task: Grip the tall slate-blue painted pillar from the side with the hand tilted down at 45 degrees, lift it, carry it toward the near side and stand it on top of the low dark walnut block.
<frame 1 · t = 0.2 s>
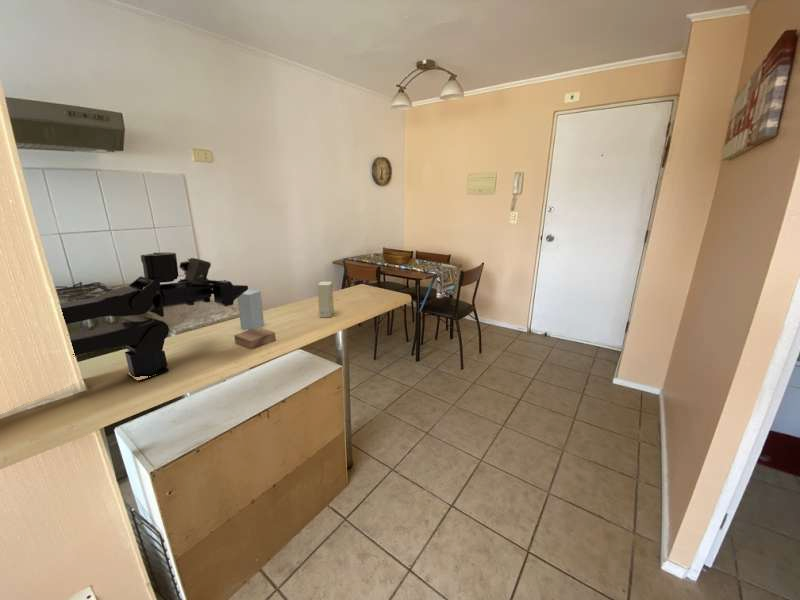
hand: (238, 285, 96), 17 cm above the breakfast bar, tool horizontal, fingers open, 9 cm apart
walnut block: (255, 343, 99), on the breakfast bar
skincare box: (326, 315, 123), on the breakfast bar
pillar: (252, 327, 111), on the breakfast bar
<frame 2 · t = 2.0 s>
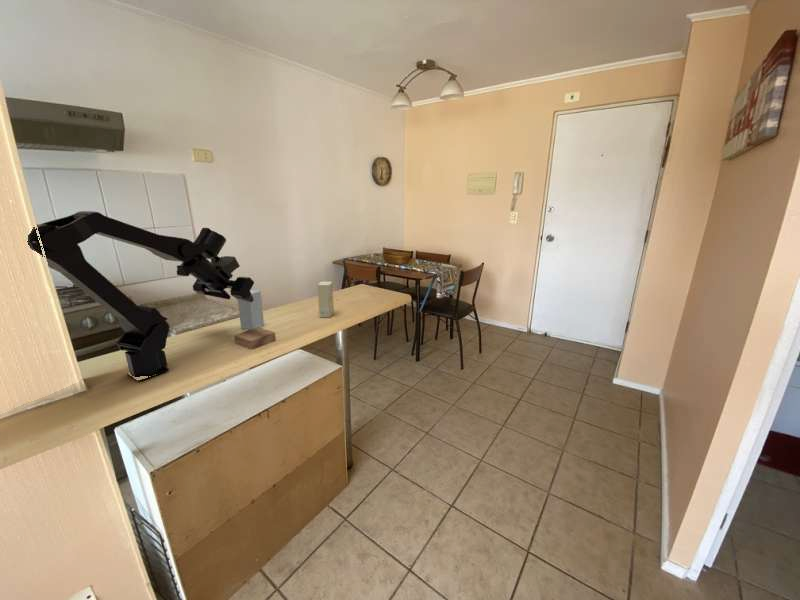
hand: (241, 299, 105), 10 cm above the breakfast bar, tool tilted 45°, fingers open, 9 cm apart
nothing on the breakfast bar moved.
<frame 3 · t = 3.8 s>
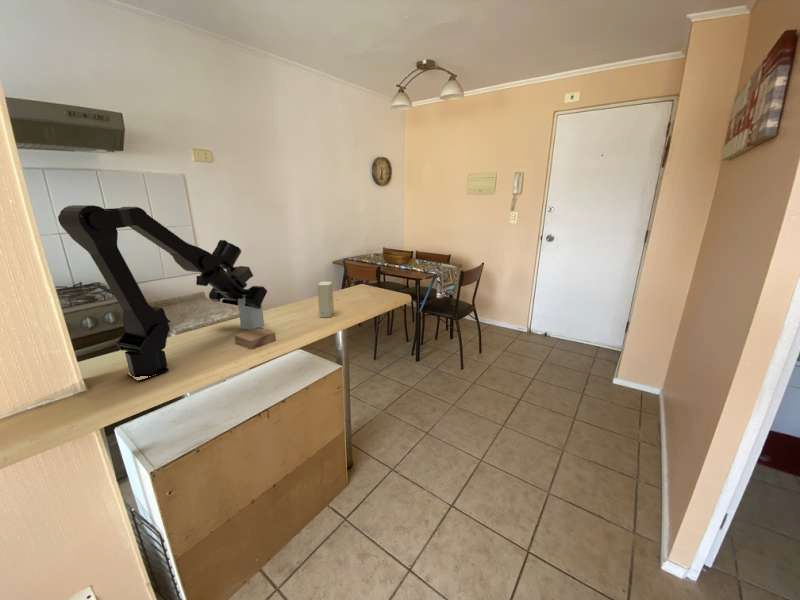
hand: (253, 306, 110), 7 cm above the breakfast bar, tool tilted 45°, fingers closed on pillar, 5 cm apart
pillar: (252, 327, 111), on the breakfast bar, touching gripper
everything else where it was.
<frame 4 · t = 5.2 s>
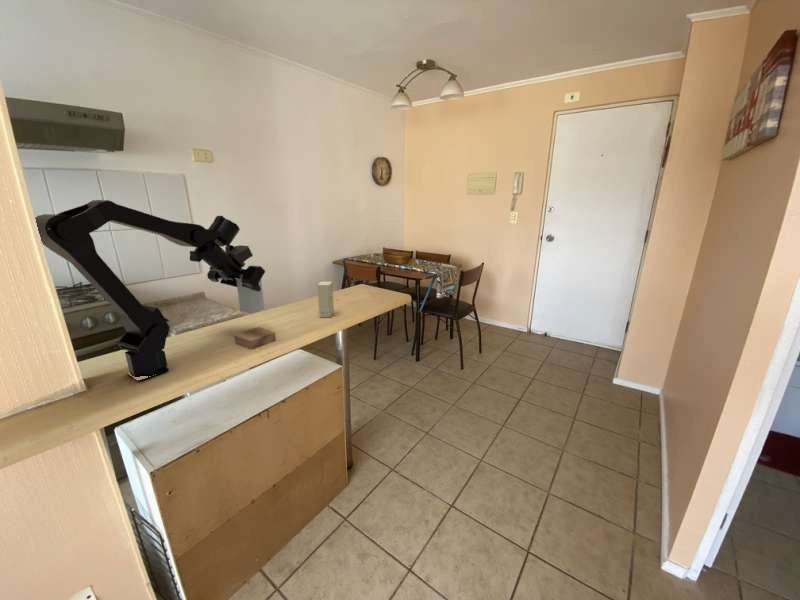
hand: (253, 289, 105), 13 cm above the breakfast bar, tool tilted 45°, fingers closed on pillar, 5 cm apart
pillar: (252, 310, 106), point 7 cm above the breakfast bar, touching gripper
everything else where it was.
when the fingers open (10 cm above the breakfast bar, at t = 6.9 s): pillar drops 1 cm, resting on walnut block.
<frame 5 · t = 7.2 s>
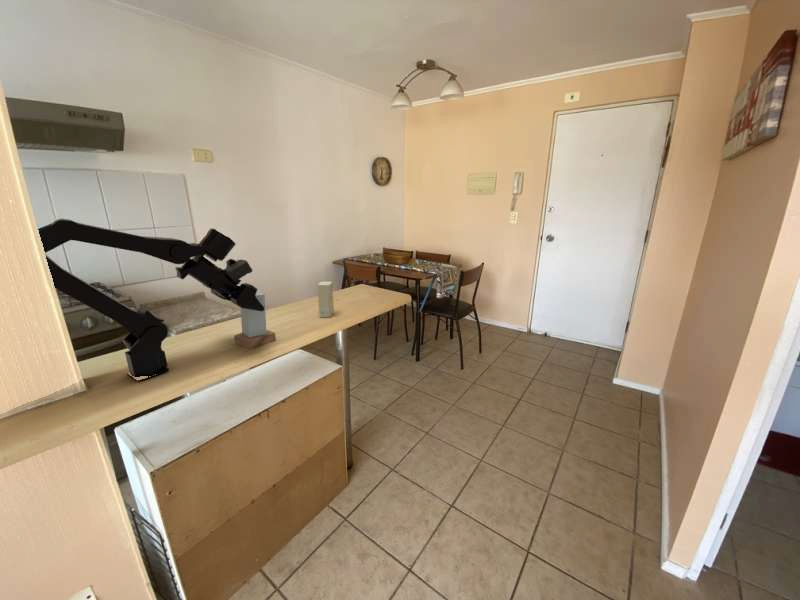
hand: (256, 306, 97), 11 cm above the breakfast bar, tool tilted 45°, fingers open, 9 cm apart
walnut block: (255, 343, 99), on the breakfast bar, touching pillar
pillar: (254, 333, 98), point 3 cm above the breakfast bar, touching walnut block
everything else where it was.
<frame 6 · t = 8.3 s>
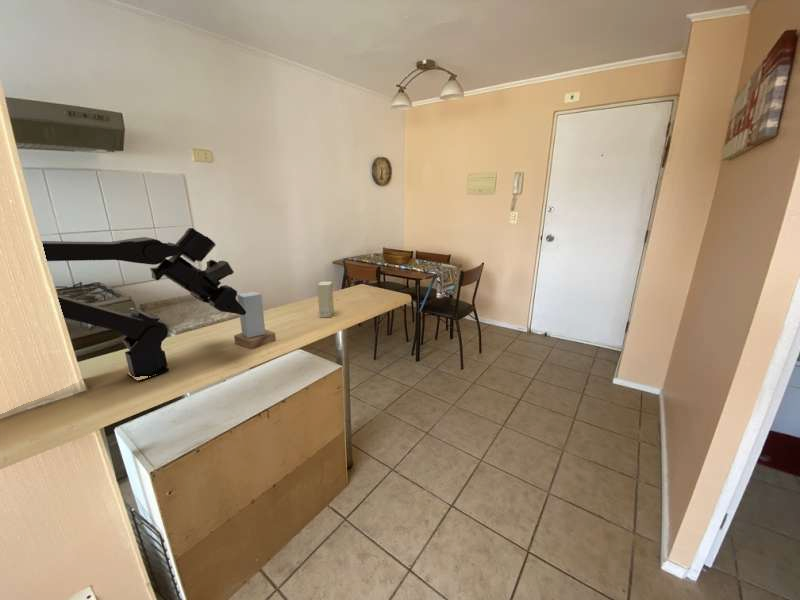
hand: (238, 310, 93), 11 cm above the breakfast bar, tool tilted 45°, fingers open, 9 cm apart
nothing on the breakfast bar moved.
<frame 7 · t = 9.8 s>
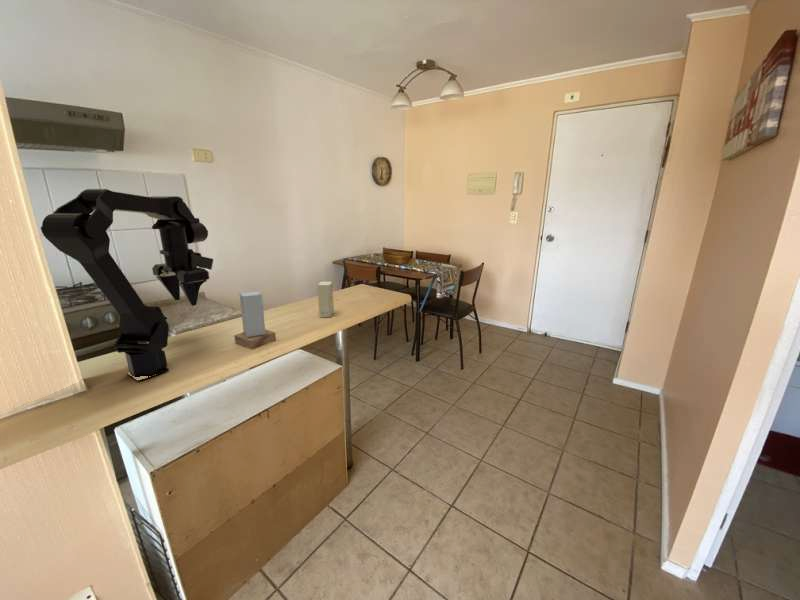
hand: (185, 302, 92), 13 cm above the breakfast bar, tool pointing down, fingers open, 9 cm apart
walnut block: (256, 343, 99), on the breakfast bar
pillar: (254, 333, 98), point 3 cm above the breakfast bar
everything else where it was.
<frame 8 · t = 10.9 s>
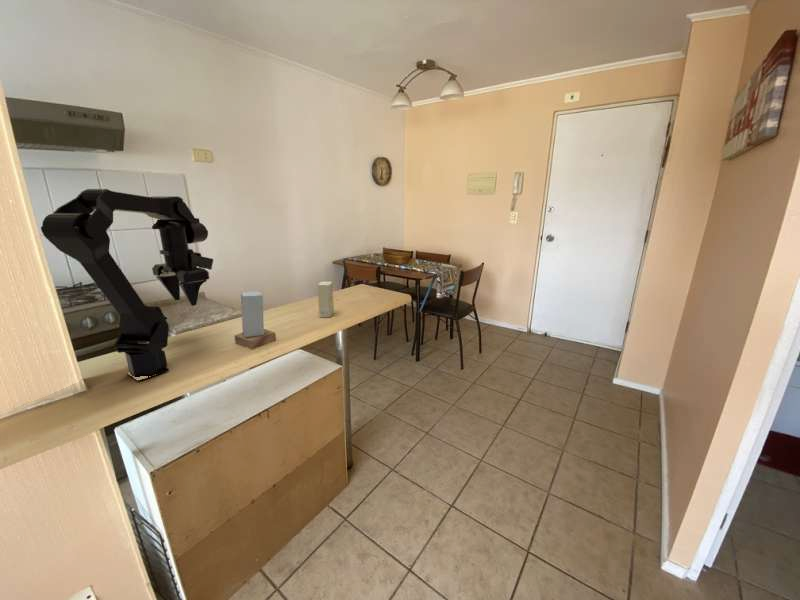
hand: (185, 302, 92), 13 cm above the breakfast bar, tool pointing down, fingers open, 9 cm apart
nothing on the breakfast bar moved.
at the end: pillar inside the target area on the walnut block (0.4 cm from its centre), point 3.2 cm above the walnut block's base; pillar tilted 4°; the gripper is holding nothing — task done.
